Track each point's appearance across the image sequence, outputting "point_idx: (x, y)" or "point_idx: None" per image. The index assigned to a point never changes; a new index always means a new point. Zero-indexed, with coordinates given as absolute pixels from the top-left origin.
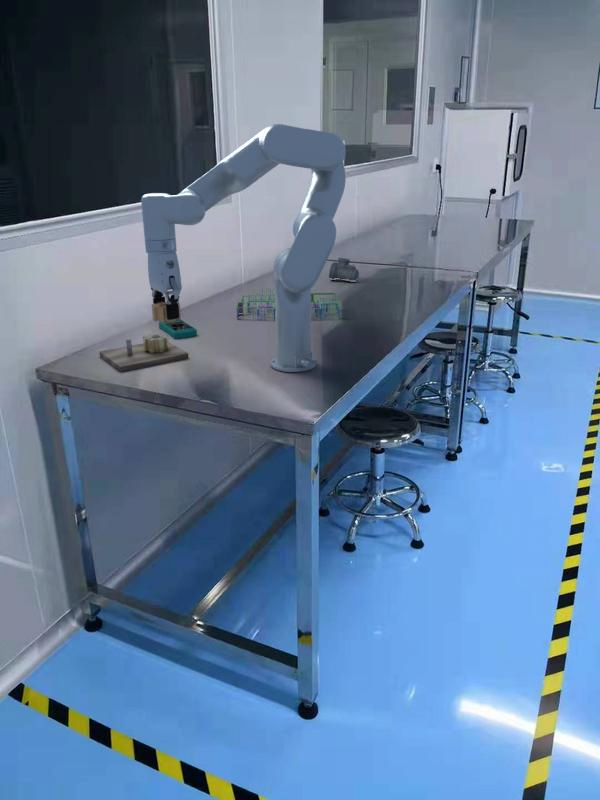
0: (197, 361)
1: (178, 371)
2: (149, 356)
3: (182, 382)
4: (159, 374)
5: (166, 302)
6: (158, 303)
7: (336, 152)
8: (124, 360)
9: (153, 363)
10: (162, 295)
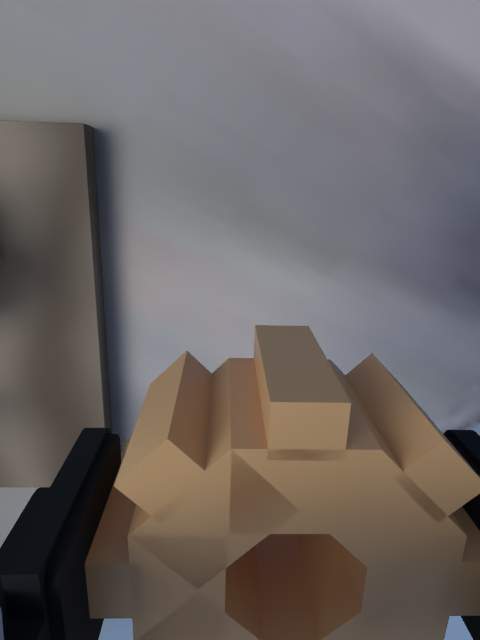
0: (170, 111)
1: (255, 271)
2: (28, 328)
3: (395, 321)
4: (239, 357)
5: (174, 538)
6: (160, 633)
7: None
8: (30, 444)
9: (103, 332)
10: (7, 630)
